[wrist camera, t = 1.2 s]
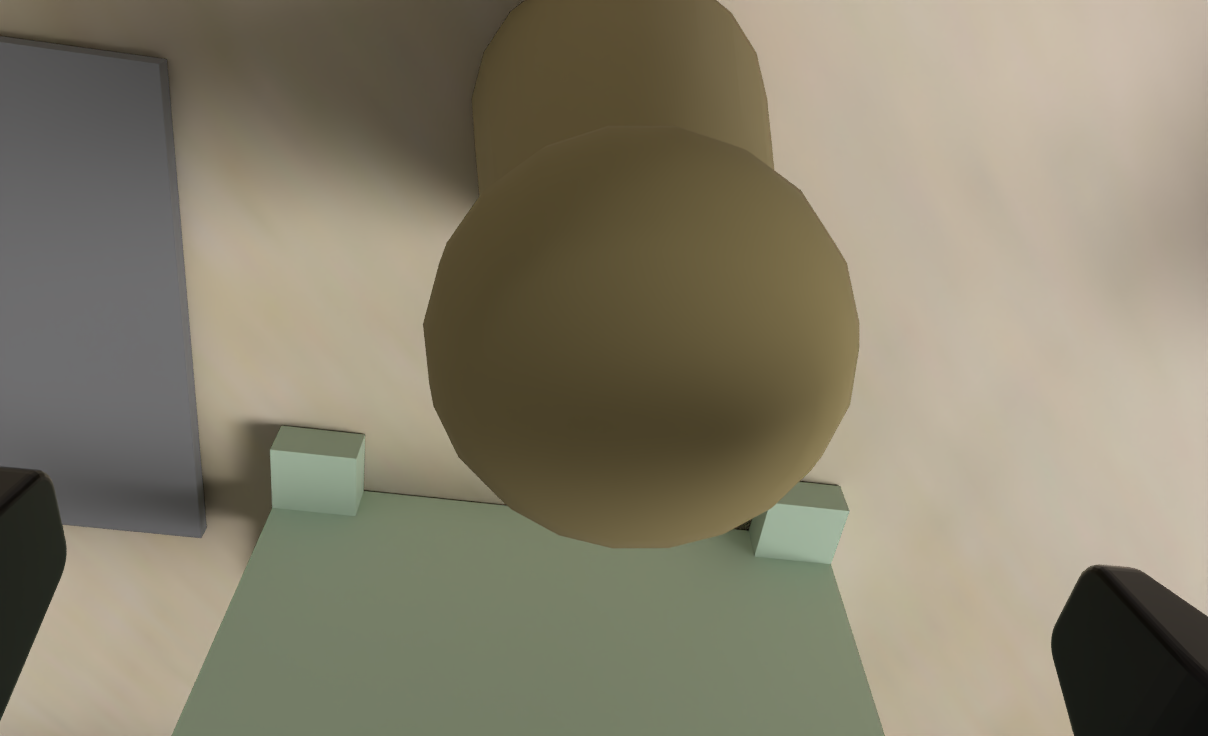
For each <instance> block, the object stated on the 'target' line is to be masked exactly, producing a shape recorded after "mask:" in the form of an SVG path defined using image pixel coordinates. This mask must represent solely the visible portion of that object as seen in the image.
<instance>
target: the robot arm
mask: <svg viewBox="0 0 1208 736" xmlns="http://www.w3.org/2000/svg"><path fill="white" fill-rule="evenodd" d="M65 562H66V541H65V536H64V531H63V526H62V522H61V517H60V512H59V507H58V503H57V498H56V493H55V488H54V485H53V482H52V480H51V478H50V477H49V475H48V474H47V473H45V472H43V471H41V470H38V469H27V468H16V467H5V466H0V720H1V718H2V716H3V713H4V711H5V709H6V706H7V704H8V702H9V699H10V697H11V695H12V692H13V690H14V687H15V685H16V683H17V680H18V678H19V676H20V673H21V671H22V668H23V666H24V664H25V661H26V659H27V657H28V654H29V652H30V649H31V647H32V645H33V642H34V640H35V638H36V635H37V633H38V630H39V628H40V626H41V623H42V621H43V619H44V616H45V614H46V611H47V609H48V607H49V604H50V602H51V600H52V597H53V595H54V592H55V590H56V588H57V585H58V583H59V581H60V578H61V576H62V573H63V570H64V566H65ZM1051 648H1052V656H1053V660H1054V664H1055V667H1056V671H1057V675H1058V678H1059V682H1060V686H1061V689H1062V693H1063V697H1064V700H1065V704H1066V708H1067V712H1068V715H1069V719H1070V723H1071V726H1072V730H1073V734H1074V736H1208V616H1206V615H1205V614H1203V613H1202V612H1200V611H1199V610H1197V609H1196V608H1195V607H1193V606H1192V605H1190V604H1189V603H1187V602H1186V601H1184V600H1183V599H1182V598H1180V597H1179V596H1177V595H1176V594H1174V593H1173V592H1171V591H1170V590H1169V589H1167V588H1166V587H1164V586H1163V585H1161V584H1160V583H1158V582H1157V581H1155V580H1154V579H1153V578H1151V577H1150V576H1148V575H1147V574H1145V573H1144V572H1142V571H1140V570H1138V569H1135V568H1130V567H1120V566H1109V565H1093V566H1090V567H1088V568H1087V569H1086V570H1085V571H1083V572H1082V574H1081V576H1080V577H1079V579H1078V581H1077V583H1076V585H1075V587H1074V589H1073V591H1072V593H1071V595H1070V597H1069V599H1068V601H1067V602H1066V604H1065V606H1064V608H1063V610H1062V612H1061V614H1060V616H1059V618H1058V620H1057V622H1056V624H1055V626H1054V629H1053V633H1052V640H1051Z"/></svg>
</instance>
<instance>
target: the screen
mask: <svg viewBox="0 0 1208 736" xmlns="http://www.w3.org/2000/svg"><path fill="white" fill-rule="evenodd" d="M364 454H365V435H364V434H355V433H345V432H336V431H327V430H318V429H309V428H299V427H290V426H281V428H280V430H279V432H278V434H277V436H276V438H275V440H274V442H273V444H272V447H271V449H270V463H271V488H272V510H271V512H270V514H269V516H268V519H267V521H266V523H265V526H264V528H263V530H262V532H261V535H260V537H259V539H258V541H257V544H256V546H255V548H254V550H253V553H252V555H251V557H250V559H249V562H248V564H247V566H246V568H245V571H244V573H243V575H242V578H241V580H240V582H239V584H238V587H237V589H236V591H235V593H234V596H233V598H232V600H231V602H230V605H229V607H228V609H227V611H226V614H225V616H224V618H223V621H222V623H221V625H220V627H219V630H218V632H217V634H216V636H215V639H214V641H213V643H212V645H211V648H210V650H209V652H208V654H207V657H206V659H205V661H204V664H203V666H202V668H201V670H200V673H199V675H198V677H197V679H196V682H195V684H194V686H193V688H192V691H191V693H190V695H189V697H188V700H187V702H186V704H185V707H184V709H183V711H182V713H181V716H180V718H179V720H178V722H177V725H176V727H175V729H174V731H173V734H172V736H885V735H884V732H883V728H882V725H881V722H880V719H879V716H878V713H877V709H876V706H875V703H874V700H873V697H872V694H871V690H870V687H869V684H868V681H867V678H866V675H865V671H864V668H863V665H862V662H861V659H860V655H859V652H858V649H857V646H856V643H855V640H854V636H853V633H852V630H851V627H850V624H849V621H848V617H847V614H846V611H845V608H844V605H843V602H842V598H841V595H840V592H839V589H838V586H837V582H836V579H835V576H834V573H833V570H832V567H831V562H832V560H833V557H834V554H835V551H836V548H837V545H838V542H839V540H840V537H841V534H842V531H843V528H844V525H845V522H846V520H847V517H848V514H849V509H848V506H847V503H846V501H845V498H844V495H843V492H842V490H841V487H840V486H834V485H825V484H816V483H807V482H798V483H797V484H796V485H795V486H794V487H793V488H792V489H791V490H790V491H789V492H788V493H787V494H786V495H785V496H784V497H783V498H782V499H781V500H780V501H779V502H778V503H777V504H776V505H774V506H773V507H772V508H771V509H769V510H767V511H766V512H764V513H762V514H760V515H758V516H756V517H754V518H753V519H752V521H751V525H750V528H749V531H746V530H736V529H732V530H730V531H729V532H727V533H725V534H723V535H719V536H715V537H711V538H707V539H703V540H699V541H695V542H691V543H687V544H683V545H679V546H675V547H671V548H609V547H605V546H600V545H596V544H592V543H588V542H584V541H580V540H576V539H572V538H568V537H563V536H559V535H557V534H555V533H554V532H552V531H550V530H548V529H546V528H544V527H543V526H541V525H539V524H537V523H535V522H533V521H532V520H530V519H528V518H526V517H524V516H522V515H521V514H519V513H517V512H515V511H513V510H512V509H510V508H509V507H508V506H504V505H495V504H485V503H476V502H466V501H456V500H447V499H437V498H427V497H418V496H408V495H398V494H389V493H379V492H369V491H364Z"/></svg>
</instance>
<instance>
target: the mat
mask: <svg viewBox="0 0 1208 736" xmlns="http://www.w3.org/2000/svg"><path fill="white" fill-rule="evenodd" d="M0 466H5V467H16V468H27V469H38V470H41V471H43V472H45V473H47V474H48V475H49V477H50V478H51V480H52V482H53V485H54V488H55V493H56V498H57V503H58V507H59V512H60V517H61V522H62V525H72V526H83V527H93V528H103V529H113V530H124V531H134V532H144V533H154V534H164V535H175V536H185V537H195V538H202V536H203V534H204V532H205V530H206V528H207V526H206V515H205V503H204V491H203V479H202V467H201V456H200V444H199V432H198V420H197V409H196V397H195V385H194V373H193V361H192V350H191V338H190V326H189V314H188V302H187V291H186V279H185V267H184V255H183V244H182V232H181V220H180V208H179V196H178V185H177V173H176V161H175V149H174V138H173V126H172V114H171V102H170V90H169V79H168V67H167V59H162V58H155V57H148V56H140V55H133V54H126V53H119V52H112V51H104V50H97V49H90V48H83V47H76V46H68V45H61V44H54V43H47V42H40V41H32V40H25V39H18V38H11V37H4V36H0Z"/></svg>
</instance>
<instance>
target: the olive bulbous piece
mask: <svg viewBox="0 0 1208 736" xmlns="http://www.w3.org/2000/svg"><path fill="white" fill-rule="evenodd" d="M472 109H473V125H474V140H475V153H476V164H477V176H478V188H479V198H478V199H477V201H476V202H475V203H474V205H473V206H472V208H471V209H470V211H469V212H468V213H467V215H466V216H465V218H464V219H463V221H462V222H461V223H460V225H459V226H458V228H457V229H456V231H455V232H454V233H453V235H452V236H451V238H450V239H449V241H448V242H447V243H446V246H445V249H444V252H443V255H442V257H441V260H440V263H439V266H438V270H437V274H436V278H435V281H434V285H433V289H432V293H431V296H430V300H429V304H428V308H427V312H426V315H425V319H424V323H423V327H424V337H425V347H426V356H427V366H428V376H429V384H430V390H431V395H432V400H433V405H434V408H435V410H436V412H437V414H438V416H439V418H440V420H441V422H442V424H443V426H444V428H445V430H446V432H447V434H448V436H449V438H450V440H451V443H452V445H453V447H454V449H455V451H456V453H457V455H458V457H459V458H460V459H461V460H462V461H463V462H464V463H465V464H466V465H467V466H468V467H469V468H470V469H471V470H472V471H473V472H474V473H475V474H476V475H477V476H478V477H479V478H480V479H481V480H482V481H483V482H484V483H485V484H486V485H487V486H488V487H489V488H490V489H491V490H492V491H493V492H494V493H495V494H496V495H497V496H498V497H499V498H500V499H501V500H502V501H503V502H504V503H505V504H506V505H507V506H508V507H509V508H510V509H512V510H513V511H515V512H517V513H519V514H521V515H522V516H524V517H526V518H528V519H530V520H532V521H533V522H535V523H537V524H539V525H541V526H543V527H544V528H546V529H548V530H550V531H552V532H554V533H555V534H557V535H559V536H563V537H568V538H572V539H576V540H580V541H584V542H588V543H592V544H596V545H600V546H605V547H609V548H671V547H675V546H679V545H683V544H687V543H691V542H695V541H699V540H703V539H707V538H711V537H715V536H719V535H723V534H725V533H727V532H729V531H730V530H732V529H734V528H736V527H738V526H740V525H742V524H743V523H745V522H747V521H749V520H751V519H753V518H754V517H756V516H758V515H760V514H762V513H764V512H766V511H767V510H769V509H771V508H772V507H773V506H774V505H776V504H777V503H778V502H779V501H780V500H781V499H782V498H783V497H784V496H785V495H786V494H787V493H788V492H789V491H790V490H791V489H792V488H793V487H794V486H795V485H796V484H797V483H798V482H799V481H800V480H801V479H802V478H804V477H805V476H806V475H807V474H808V473H809V472H810V471H811V470H812V468H813V467H814V466H815V464H816V463H817V462H818V460H819V459H820V458H821V456H822V455H823V453H824V451H825V449H826V448H827V446H828V444H829V442H830V440H831V438H832V437H833V435H834V433H835V431H836V429H837V427H838V426H839V424H840V422H841V420H842V418H843V416H844V415H845V413H846V411H847V409H848V407H849V405H850V401H851V395H852V389H853V383H854V376H855V370H856V364H857V358H858V352H859V320H858V315H857V310H856V305H855V300H854V296H853V291H852V286H851V281H850V276H849V272H848V267H847V263H846V261H845V259H844V258H843V256H842V254H841V253H840V251H839V249H838V248H837V246H836V244H835V243H834V241H833V240H832V238H831V236H830V235H829V233H828V232H827V230H826V229H825V227H824V226H823V224H822V222H821V221H820V219H819V218H818V216H817V215H816V213H815V212H814V210H813V209H812V207H811V205H810V204H809V202H808V201H807V199H806V198H805V196H804V195H803V193H802V192H801V190H800V189H798V188H797V187H796V186H794V185H793V184H792V183H790V182H789V181H788V180H786V179H785V178H784V177H782V176H781V175H780V174H778V173H777V172H776V171H774V163H773V153H772V143H771V133H770V123H769V114H768V104H767V97H766V92H765V88H764V84H763V79H762V75H761V71H760V67H759V62H758V58H757V54H756V52H755V50H754V48H753V47H752V45H751V44H750V42H749V40H748V39H747V37H746V36H745V34H744V32H743V31H742V29H741V28H740V26H739V24H738V23H737V21H736V20H735V18H734V16H733V15H732V13H731V12H730V11H729V10H727V9H726V8H725V7H724V6H722V5H721V4H720V3H719V2H717V1H716V0H525V1H524V2H522V3H521V4H520V5H518V6H517V7H516V8H515V9H513V10H512V11H511V12H510V13H509V15H508V16H507V18H506V19H505V21H504V22H503V24H502V25H501V27H500V28H499V30H498V31H497V33H496V34H495V36H494V38H493V39H492V41H491V42H490V44H489V45H488V47H487V48H486V50H485V51H484V53H483V57H482V61H481V65H480V69H479V72H478V76H477V80H476V84H475V88H474V92H473V96H472Z"/></svg>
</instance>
